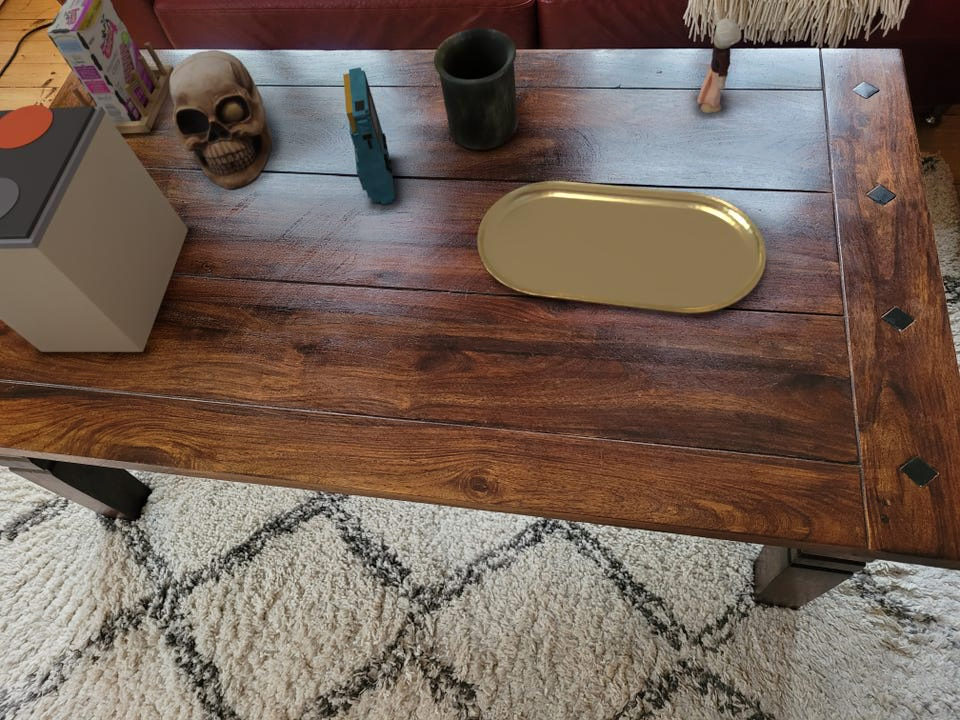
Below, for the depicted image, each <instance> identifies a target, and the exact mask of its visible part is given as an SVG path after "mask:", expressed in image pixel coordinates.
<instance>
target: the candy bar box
mask: <svg viewBox="0 0 960 720" xmlns="http://www.w3.org/2000/svg"><path fill="white" fill-rule="evenodd" d="M45 33H46V35H47V36H48V38H49V39H50V41H51V42H52V43H53V45H54V46H55V48H56V49H57V50H58V53H60V55H61V56H62V58H63V59H64V61H65V62H66V64H67V65H68V66H69V68H70V70H71V71H72V72H73V74H74V75H75V76H76V77H75V78H77V80H78V81H79V83H80V84H81V85H82V87H83V88H84V90H85V92H87V94H88V96H89V97H90V98H91V100H92V102H93V103H94V104H95V107H102V108H103V110H104V111H105V113H106V114H107V115H108V117H109V118H110V120H111V121H112V122H130V121H140V119H141V117H142V115H141V113H140V111H139V110H138V108H137V107H136V105H135V104H134V102H133V101H132V99H131V98H130V96H129V95H128V93H127V92H126V90H125V88H124V85H125V84H129V85H130V86H131V88H132V90H133V91H134V93H135V94H136V96H137V97H138V99H139V101H140V102H141V104H142V105H143V107H144V108H146V106H147V104H148V99H147V98H146V96H145V95H144V93H143V92H142V90H141V88H140V87H139V85H138V84H137V82H136V80H135V79H134V77H133V76H132V74H131V71H132V70H136V71H137V72H138V74H139V76H140V77H141V79H142V80H143V82H144V84H145V85H146V87H147V88H148V90H149V92H150V93H151V94H152V91H153V90H154V88H155V86H154V84H153V83H152V81H151V79H150V78H149V76H148V74H147V73H146V71H145V69H144V68H143V66H142V65H141V63H140V61H139V60H138V57H139V56H141V55H142V53H141V52H140V50H139V48H138V46H137V44H136V42H135V41H134V39H133V38H132V36H131V34H130V33H129V31H128V28H127V27H126V25H125V24H124V22H123V19H122V18H121V17H120V15H119V13H118V11H117V10H116V7H115V5H113V2H112V1H111V0H65V1H64V2H63V4H62V6H61V8H60V10H59V11H58V12H57V14H56V16H55V17H54V19H53V21H52V22H51V24H50V25H49V26H48V28H47V30H46V32H45Z"/></svg>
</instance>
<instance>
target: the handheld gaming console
mask: <svg viewBox="0 0 960 720" xmlns="http://www.w3.org/2000/svg"><path fill="white" fill-rule="evenodd" d="M342 76H343V88H344V101H345V113H346V117H347V120H348V124H349V135H350V138H351V141H352V143H353V147H354V158H355V169H356V174H357V177H358V180H359V182H360V186H361V188H362V190H363V191H366V194H367V197H368V199H369V198H371V200H372V203H373V204H376V203H381V205H382V206H386V205H387V206H388V205H392V204H394V200H395V199H396V192H395V186H394V178H393V174H394V172H393V167H392V159H391V157H390V152H389V149H388V143H387V137H386V134H385V133H384V132H383V129H382V124H381V121H380V118H379V115H378V112H377V107H376V104H375V101H374V98H373V94H372V90H371V88H370V83H369V81H368V77H367V74H366V71H365V70H362V68H361V66H360V67H355V68H349V69H348V72H347V73H343V75H342Z"/></svg>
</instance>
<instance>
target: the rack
mask: <svg viewBox="0 0 960 720" xmlns="http://www.w3.org/2000/svg"><path fill="white" fill-rule="evenodd" d="M144 47H145V49H146V50H147V52H148V54H149V56H150V57H151V59H152V61H153V62H154V64H155V65H152V66H150V64H149V63H148V61H147V60H146V58H145V56H144V55H143V54H141V56H139V57H138V60H139V61H140V63H141V65H142V66H143V68H144V69H145V71H146V73H147V74H148V76H149V78H150V79H151V81H152V83H153V84H154V88H153V90H152V91H153V92H151V93H150V92H149V90H148V88H147V87H146V85H145V84H144V82H143V80H142V79H141V77H140V76H139V74H138V72H137V71H136V70H132V71H131V74H132V76H133V77H134V79H135V80H136V82H137V84H138V85H139V87H140V88H141V90H142V92H143V93H144V95H145V96H146V98H147V99H148V100H147V103H146V106H145V107H143V105H142V104H141V102H140V101H139V99H138V97H137V96H136V94H135V93H134V91H133V90H132V88H131V86H130V85H129V84H125V85H124V88H125V90H126V92H127V93H128V95H129V96H130V98H131V99H132V101H133V102H134V104H135V105H136V107H137V108H138V110H139V111H140V113H141V116H140V119H139V121H130V122H113V124H114V125H115V127H116V128H117V129H118V131H119V132H120V134H121V135H122V134H140V133H142V134H143V133H145V134H146V133H150V132H151V130H152V128H153V126H154V123H155V121H156V119H157V116H158V114H159V112H160V110H161V108H162V106H163V103H164V101H165V99H166V97H167V94H168V92H169V91H170V87H169V82H170V76H171V73H172V71H173V69H174V68H175V67H173V65H172V64H169V65H168V64H167V65H164V64H163V63H162V61H161V60H160V57H159V56H158V53H156V51H155V49H154V47H153V46H152V44H151V42H150V41H146V42H145V43H144ZM158 78H159V79H158ZM70 91H71V92H72V93H73V95H74V96H75V97H76V99H77V100H78V102H79V103H80V104H81V106H82V107H83V106H91V104H89V102H88V101H87V100H86V98H85V97H84V95H83V94H82V92H81V91H80V89H79V88H78V87H77V86H72V87H71V88H70Z"/></svg>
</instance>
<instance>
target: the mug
mask: <svg viewBox="0 0 960 720" xmlns="http://www.w3.org/2000/svg"><path fill="white" fill-rule="evenodd" d="M516 57H517V48H516V45H515V43H514V41H513V40H512V38H511V37H510V36H508V35H507V34H506V33H504V32H502V31H499V30H497V29H493V28H486V27H484V28H483V27H478V28H477V27H476V28H469V29H465V30H461V31H459V32H457V33H454V34H453V35H451V36H448V37H447V38H446V39H444V40H443V42H441V43H440V44H439V46H438V47H437V49H436V50H435V53H434V56H433V66H434V68H435V71H436V72H437V73H438V75H439V80H440V85H441V91H442V97H443V101H444V107H445V113H446V117H447V118H446V119H447V123H448V129H449V132H450V133H449V134H450V135H451V138H452V139H454V141H456V143H458V144H459V145H461V146H462V147H464V148H468V149H470V150H476V151H485V150H491V149H494V148H497V147H499V146H501V145H504V143H506V142H508V141H509V140H510V139H511V138H512V136H513V135H514V133H515V132H516V130H517V129H518V124H519V113H518V100H517V99H518V98H517V86H516V85H517V84H516V74H515V61H516Z"/></svg>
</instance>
